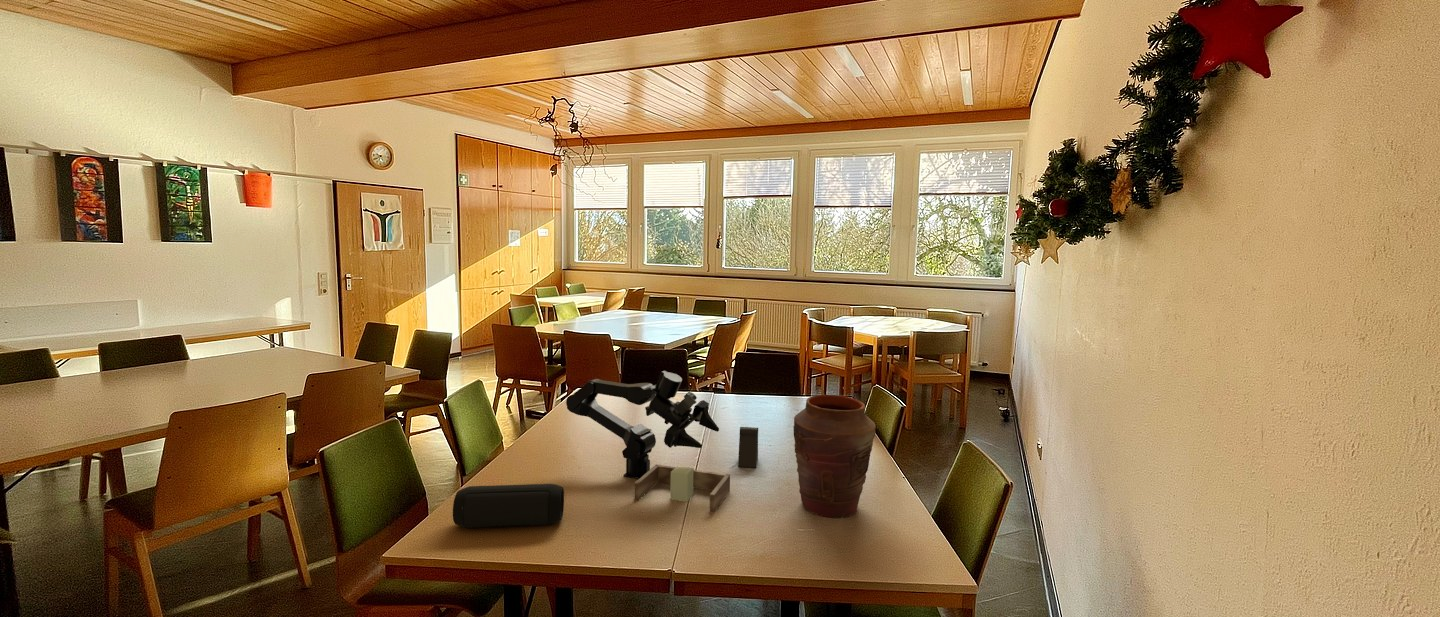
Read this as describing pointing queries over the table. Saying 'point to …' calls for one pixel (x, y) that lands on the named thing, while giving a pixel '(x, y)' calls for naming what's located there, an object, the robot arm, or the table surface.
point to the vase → (832, 453)
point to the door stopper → (748, 447)
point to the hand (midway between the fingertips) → (710, 438)
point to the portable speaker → (508, 505)
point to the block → (681, 483)
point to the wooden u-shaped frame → (700, 480)
